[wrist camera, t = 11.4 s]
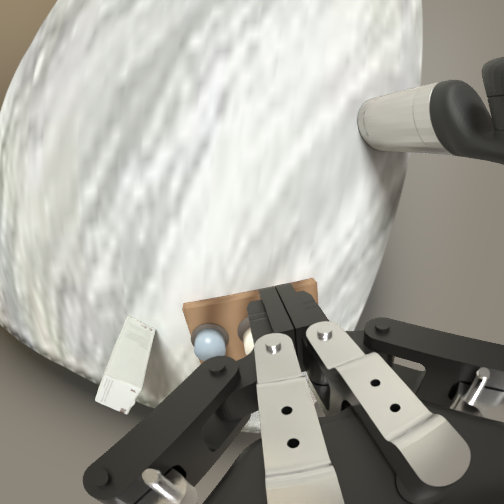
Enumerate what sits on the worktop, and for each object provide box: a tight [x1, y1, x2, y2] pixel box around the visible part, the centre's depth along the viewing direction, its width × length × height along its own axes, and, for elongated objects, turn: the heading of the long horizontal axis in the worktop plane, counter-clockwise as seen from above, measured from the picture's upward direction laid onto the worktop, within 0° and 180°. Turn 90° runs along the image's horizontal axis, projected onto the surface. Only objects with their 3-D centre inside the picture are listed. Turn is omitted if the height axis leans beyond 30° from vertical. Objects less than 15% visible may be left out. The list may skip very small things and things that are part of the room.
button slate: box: [194, 328, 226, 361], centre depth 43 cm, size 5×5×3 cm
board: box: [182, 278, 318, 364], centre depth 46 cm, size 22×13×2 cm, turn 99°
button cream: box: [243, 328, 254, 355], centre depth 42 cm, size 5×5×3 cm
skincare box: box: [95, 316, 156, 414], centre depth 38 cm, size 8×6×15 cm
